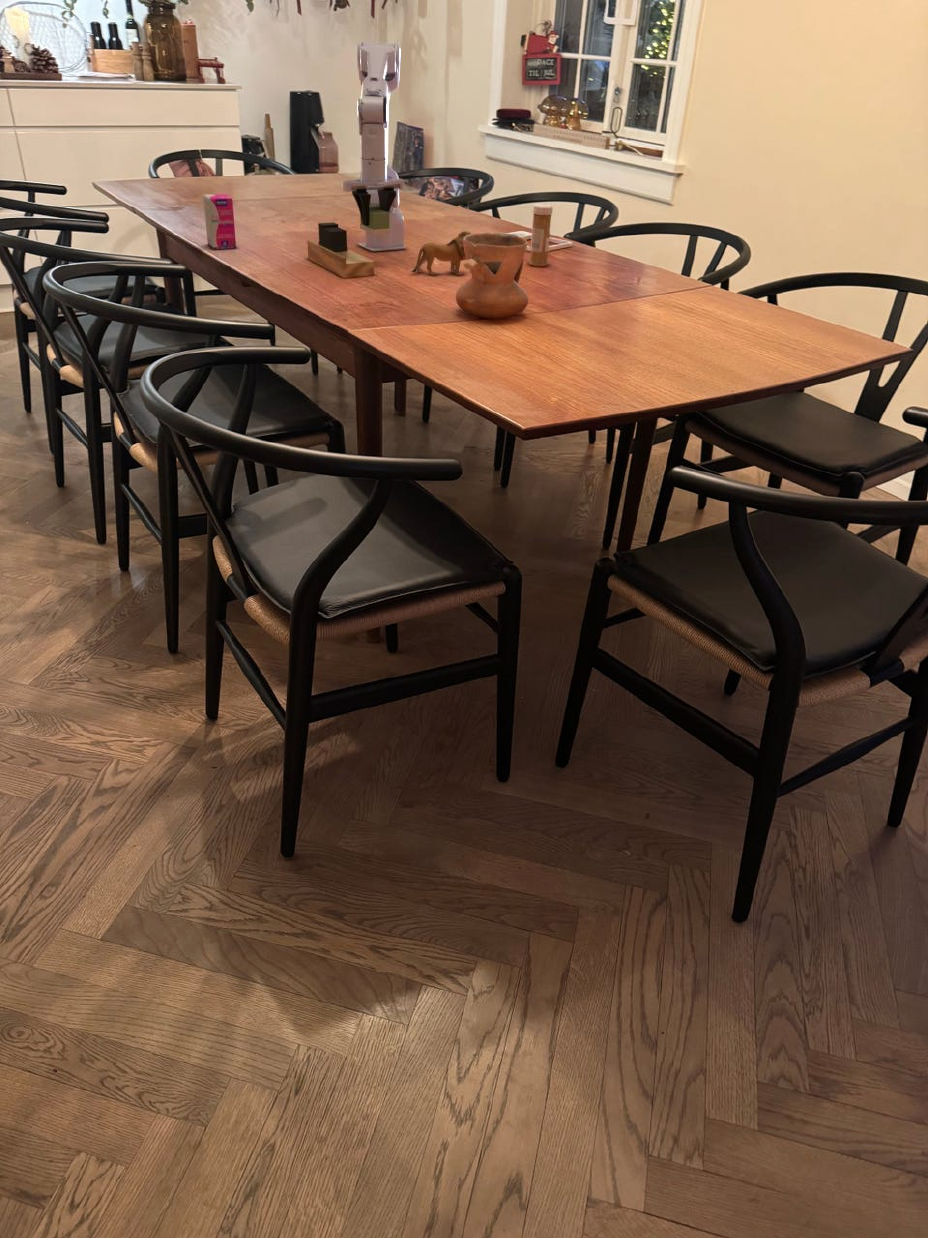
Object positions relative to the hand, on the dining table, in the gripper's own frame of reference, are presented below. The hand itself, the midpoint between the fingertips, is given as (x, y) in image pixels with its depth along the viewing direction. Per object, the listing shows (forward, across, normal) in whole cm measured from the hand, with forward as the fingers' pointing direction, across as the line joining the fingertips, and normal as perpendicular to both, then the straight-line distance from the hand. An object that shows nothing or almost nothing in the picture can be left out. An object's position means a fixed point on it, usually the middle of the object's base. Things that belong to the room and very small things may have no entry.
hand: (374, 224), depth 204 cm
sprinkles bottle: (+9, +37, -15) cm, 41 cm away
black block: (+6, -8, +5) cm, 11 cm away
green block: (+1, 0, 0) cm, 1 cm away
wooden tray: (+9, -9, 0) cm, 12 cm away
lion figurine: (+9, +11, -14) cm, 20 cm away
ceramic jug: (+9, +3, -47) cm, 48 cm away
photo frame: (+9, +49, +6) cm, 50 cm away
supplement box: (+9, -27, +29) cm, 41 cm away
